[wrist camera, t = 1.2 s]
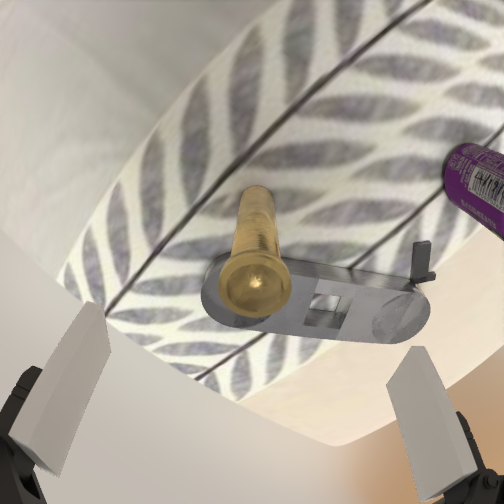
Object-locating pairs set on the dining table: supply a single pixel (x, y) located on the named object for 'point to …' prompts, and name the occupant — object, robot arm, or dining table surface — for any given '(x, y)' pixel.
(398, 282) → the slotted metal plate
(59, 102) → the dining table surface
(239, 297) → the pin
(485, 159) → the beverage can
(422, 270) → the dark grey l-shaped bracket
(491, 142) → the dining table surface
